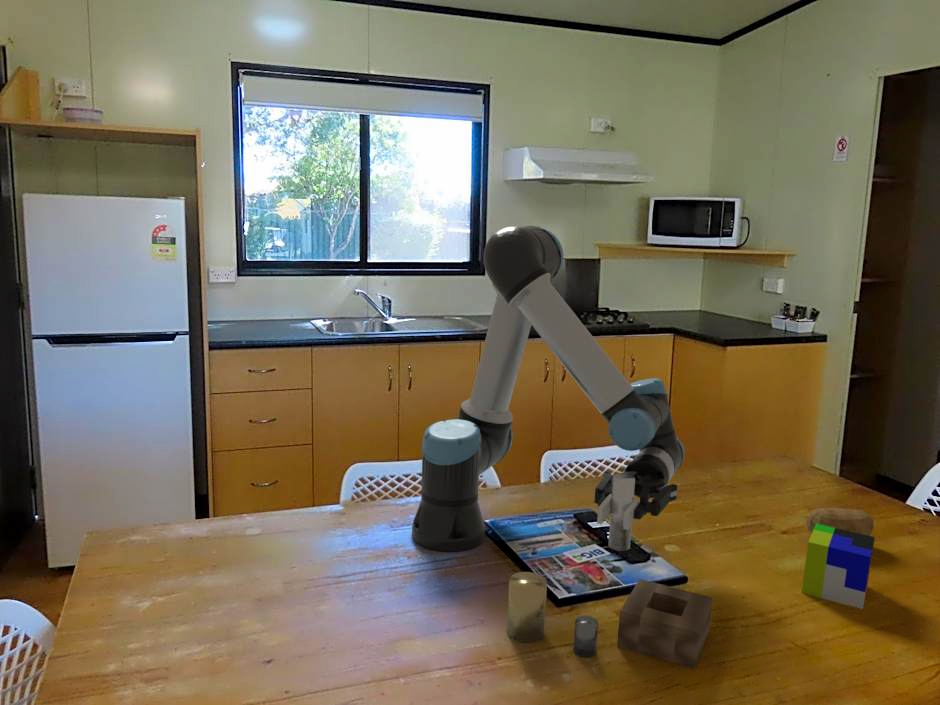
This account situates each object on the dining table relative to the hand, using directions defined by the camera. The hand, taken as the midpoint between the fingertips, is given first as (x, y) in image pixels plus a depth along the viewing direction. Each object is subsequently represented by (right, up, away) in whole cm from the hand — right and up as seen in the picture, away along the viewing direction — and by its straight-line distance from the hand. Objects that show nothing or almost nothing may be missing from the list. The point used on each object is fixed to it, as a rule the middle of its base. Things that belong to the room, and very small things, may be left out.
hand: (612, 518), depth 117 cm
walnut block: (+9, -20, +2) cm, 22 cm away
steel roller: (+2, -6, +6) cm, 9 cm away
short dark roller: (-5, -20, -2) cm, 21 cm away
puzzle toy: (+45, -18, +21) cm, 53 cm away
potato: (+55, -15, +40) cm, 70 cm away
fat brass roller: (-14, -19, +2) cm, 24 cm away
